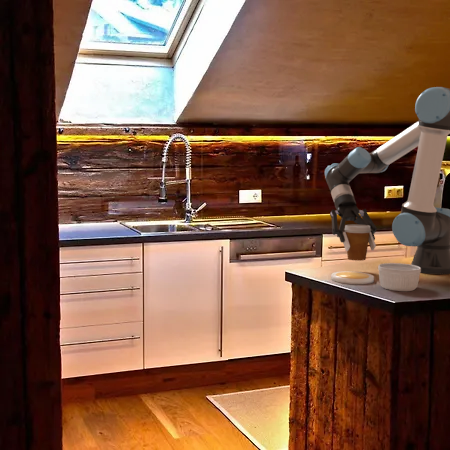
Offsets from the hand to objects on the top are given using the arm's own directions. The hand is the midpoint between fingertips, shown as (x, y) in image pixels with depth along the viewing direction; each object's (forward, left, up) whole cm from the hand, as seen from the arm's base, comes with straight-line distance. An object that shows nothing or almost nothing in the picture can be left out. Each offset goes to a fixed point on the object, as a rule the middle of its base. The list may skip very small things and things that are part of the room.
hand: (360, 248), depth 245 cm
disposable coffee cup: (-1, -3, -5) cm, 6 cm away
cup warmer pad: (+11, +7, -9) cm, 16 cm away
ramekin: (+6, +23, -9) cm, 26 cm away
